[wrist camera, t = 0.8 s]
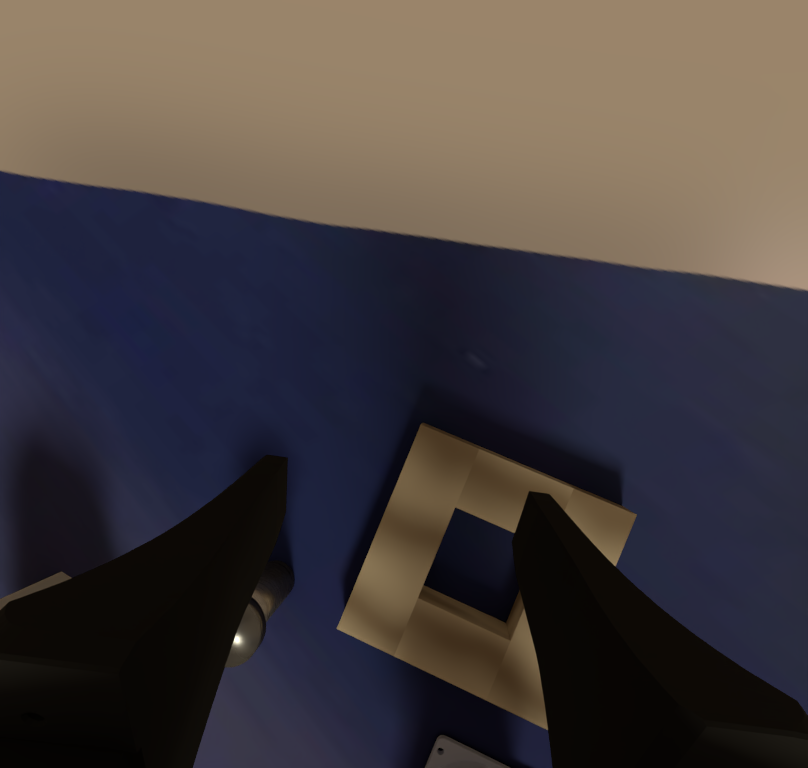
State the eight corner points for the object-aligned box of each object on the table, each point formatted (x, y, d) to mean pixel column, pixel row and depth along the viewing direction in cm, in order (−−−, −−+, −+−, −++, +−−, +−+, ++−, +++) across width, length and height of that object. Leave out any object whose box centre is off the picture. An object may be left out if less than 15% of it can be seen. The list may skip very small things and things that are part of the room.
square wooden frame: (539, 705, 33) (547, 729, 31) (344, 612, 35) (336, 628, 32) (622, 506, 33) (636, 514, 30) (422, 422, 35) (420, 424, 32)
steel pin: (289, 615, 35) (243, 679, 27) (242, 592, 35) (183, 648, 28) (309, 566, 35) (269, 615, 27) (262, 544, 35) (209, 586, 28)
